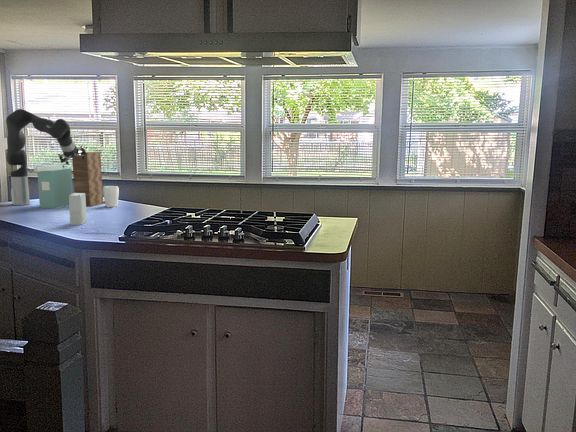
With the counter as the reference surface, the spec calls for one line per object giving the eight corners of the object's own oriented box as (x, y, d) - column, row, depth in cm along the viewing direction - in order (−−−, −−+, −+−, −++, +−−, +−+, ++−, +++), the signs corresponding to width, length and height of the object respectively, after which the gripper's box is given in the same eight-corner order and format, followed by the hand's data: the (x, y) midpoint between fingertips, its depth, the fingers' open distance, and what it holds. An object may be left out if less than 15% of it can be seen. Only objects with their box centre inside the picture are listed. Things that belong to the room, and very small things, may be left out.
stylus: (37, 171, 297) (37, 167, 296) (34, 171, 297) (33, 167, 297) (64, 168, 320) (64, 164, 319) (61, 168, 320) (61, 164, 320)
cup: (103, 205, 317) (102, 186, 315) (118, 204, 321) (117, 185, 319) (104, 207, 309) (103, 187, 307) (120, 206, 313) (119, 187, 311)
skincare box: (75, 222, 262) (73, 192, 259) (87, 222, 262) (85, 192, 260) (69, 225, 254) (67, 194, 251) (82, 225, 254) (80, 194, 252)
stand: (90, 206, 312) (87, 153, 307) (72, 206, 315) (69, 152, 309) (105, 203, 328) (102, 151, 322) (88, 202, 330) (85, 151, 325)
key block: (54, 208, 306) (51, 170, 302) (39, 207, 308) (36, 170, 305) (73, 204, 324) (71, 168, 320) (59, 203, 326) (57, 168, 322)
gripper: (57, 156, 281) (65, 170, 295) (83, 146, 285) (90, 161, 300) (52, 145, 283) (61, 160, 298) (78, 135, 287) (85, 151, 302)
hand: (75, 160), depth 299 cm, fingers open, 8 cm apart
